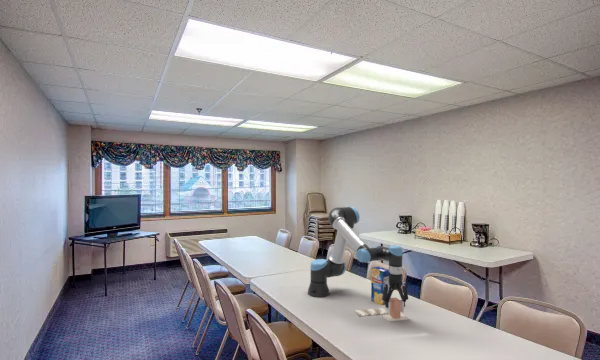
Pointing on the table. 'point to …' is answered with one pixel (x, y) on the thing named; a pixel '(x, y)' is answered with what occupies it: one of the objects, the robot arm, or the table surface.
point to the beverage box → (379, 283)
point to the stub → (395, 311)
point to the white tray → (371, 312)
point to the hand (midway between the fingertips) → (395, 312)
